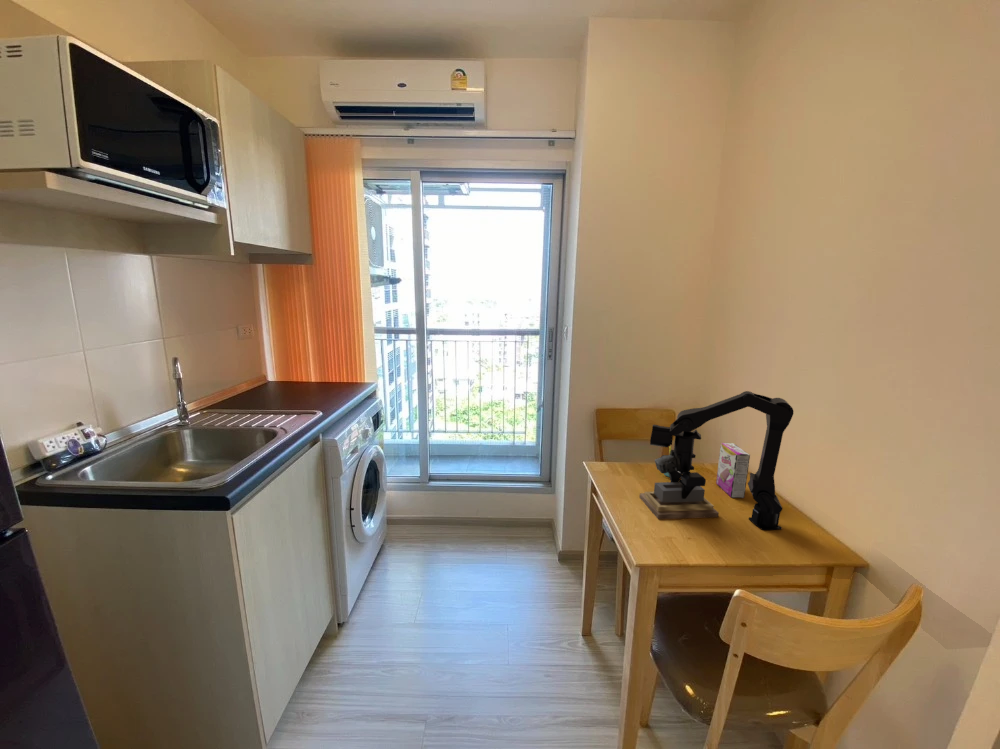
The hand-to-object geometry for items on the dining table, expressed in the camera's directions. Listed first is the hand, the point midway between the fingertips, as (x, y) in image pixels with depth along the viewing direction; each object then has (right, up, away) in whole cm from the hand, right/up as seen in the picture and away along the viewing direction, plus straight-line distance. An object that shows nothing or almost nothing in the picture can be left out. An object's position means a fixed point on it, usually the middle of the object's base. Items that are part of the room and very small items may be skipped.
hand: (678, 493), depth 136 cm
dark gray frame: (0, -1, 0) cm, 1 cm away
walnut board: (0, -5, +1) cm, 5 cm away
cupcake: (+8, 0, +25) cm, 27 cm away
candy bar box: (+24, -3, +13) cm, 27 cm away
